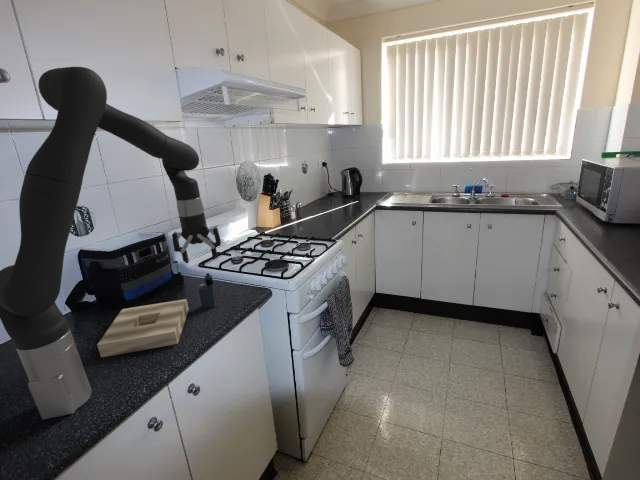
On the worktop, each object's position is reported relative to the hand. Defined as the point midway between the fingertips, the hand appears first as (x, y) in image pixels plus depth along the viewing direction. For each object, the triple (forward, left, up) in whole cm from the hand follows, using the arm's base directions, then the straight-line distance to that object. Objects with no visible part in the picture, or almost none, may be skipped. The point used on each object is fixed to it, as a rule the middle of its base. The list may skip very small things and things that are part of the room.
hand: (201, 260), depth 110 cm
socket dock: (-10, +17, -17) cm, 26 cm away
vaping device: (0, 0, -17) cm, 17 cm away
